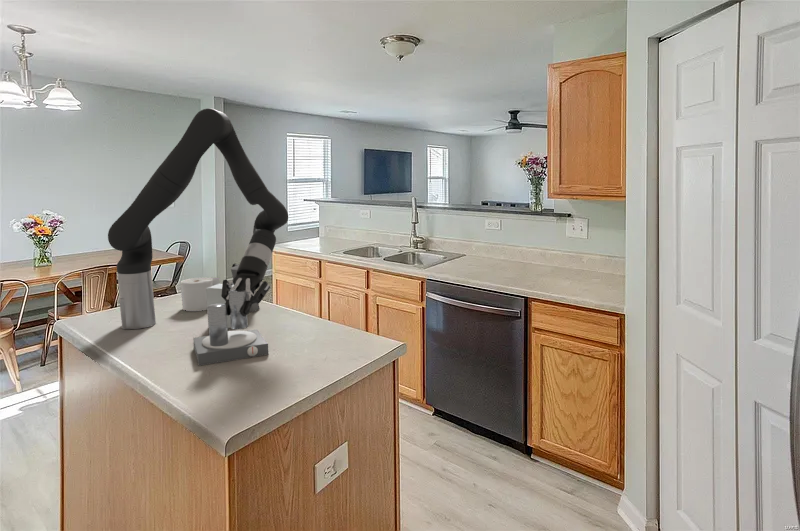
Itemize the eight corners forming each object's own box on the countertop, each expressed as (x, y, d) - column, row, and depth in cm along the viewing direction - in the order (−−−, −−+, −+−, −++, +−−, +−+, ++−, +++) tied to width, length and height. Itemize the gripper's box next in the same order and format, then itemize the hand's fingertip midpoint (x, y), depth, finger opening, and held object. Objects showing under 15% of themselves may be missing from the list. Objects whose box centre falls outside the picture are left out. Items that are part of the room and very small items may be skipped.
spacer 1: (211, 347, 123) (208, 308, 121) (209, 342, 127) (206, 304, 125) (229, 344, 125) (226, 306, 123) (227, 339, 129) (224, 302, 127)
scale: (198, 366, 120) (197, 352, 120) (194, 348, 133) (193, 335, 132) (268, 354, 128) (268, 341, 127) (257, 339, 141) (257, 327, 140)
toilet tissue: (175, 310, 172) (173, 282, 170) (198, 302, 183) (196, 276, 181) (201, 312, 169) (199, 284, 167) (223, 304, 180) (221, 277, 178)
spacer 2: (232, 330, 131) (229, 293, 129) (229, 325, 135) (227, 290, 133) (249, 328, 133) (246, 292, 131) (246, 323, 137) (244, 288, 135)
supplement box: (229, 329, 150) (226, 288, 148) (207, 327, 152) (204, 287, 149) (241, 322, 157) (239, 283, 155) (220, 321, 159) (218, 282, 157)
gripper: (226, 254, 139) (204, 306, 130) (272, 255, 136) (253, 309, 127) (238, 269, 145) (217, 319, 136) (282, 270, 142) (264, 322, 133)
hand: (234, 314), depth 131 cm, fingers closed on spacer 2, 4 cm apart
